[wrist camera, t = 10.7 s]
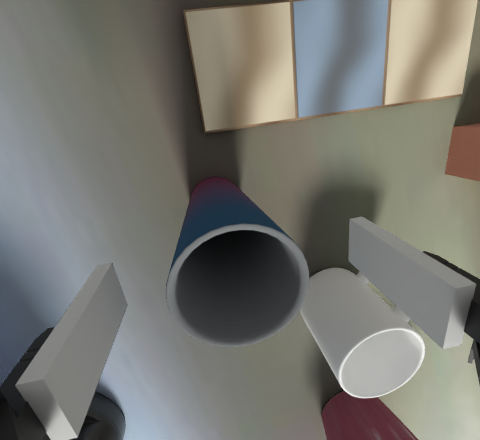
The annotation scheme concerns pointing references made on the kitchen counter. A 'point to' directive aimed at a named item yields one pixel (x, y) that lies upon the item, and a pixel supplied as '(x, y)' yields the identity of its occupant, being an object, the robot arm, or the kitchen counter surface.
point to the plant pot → (362, 420)
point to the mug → (360, 334)
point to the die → (464, 152)
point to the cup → (233, 270)
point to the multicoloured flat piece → (324, 57)
